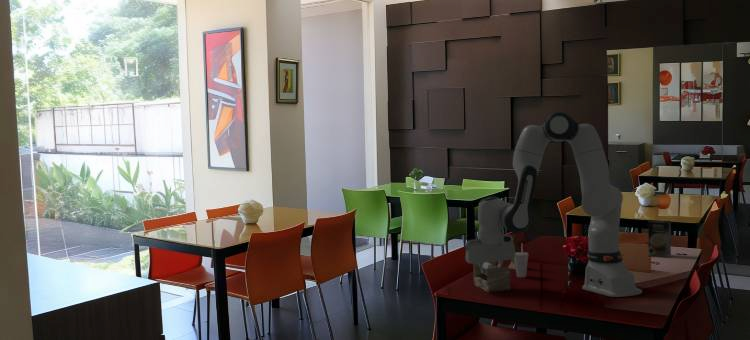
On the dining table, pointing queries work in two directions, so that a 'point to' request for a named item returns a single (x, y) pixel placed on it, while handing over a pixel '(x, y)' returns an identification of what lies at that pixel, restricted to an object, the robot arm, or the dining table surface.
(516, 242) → the hand bell
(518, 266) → the smoothie
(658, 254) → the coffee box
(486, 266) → the roll
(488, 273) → the holder
